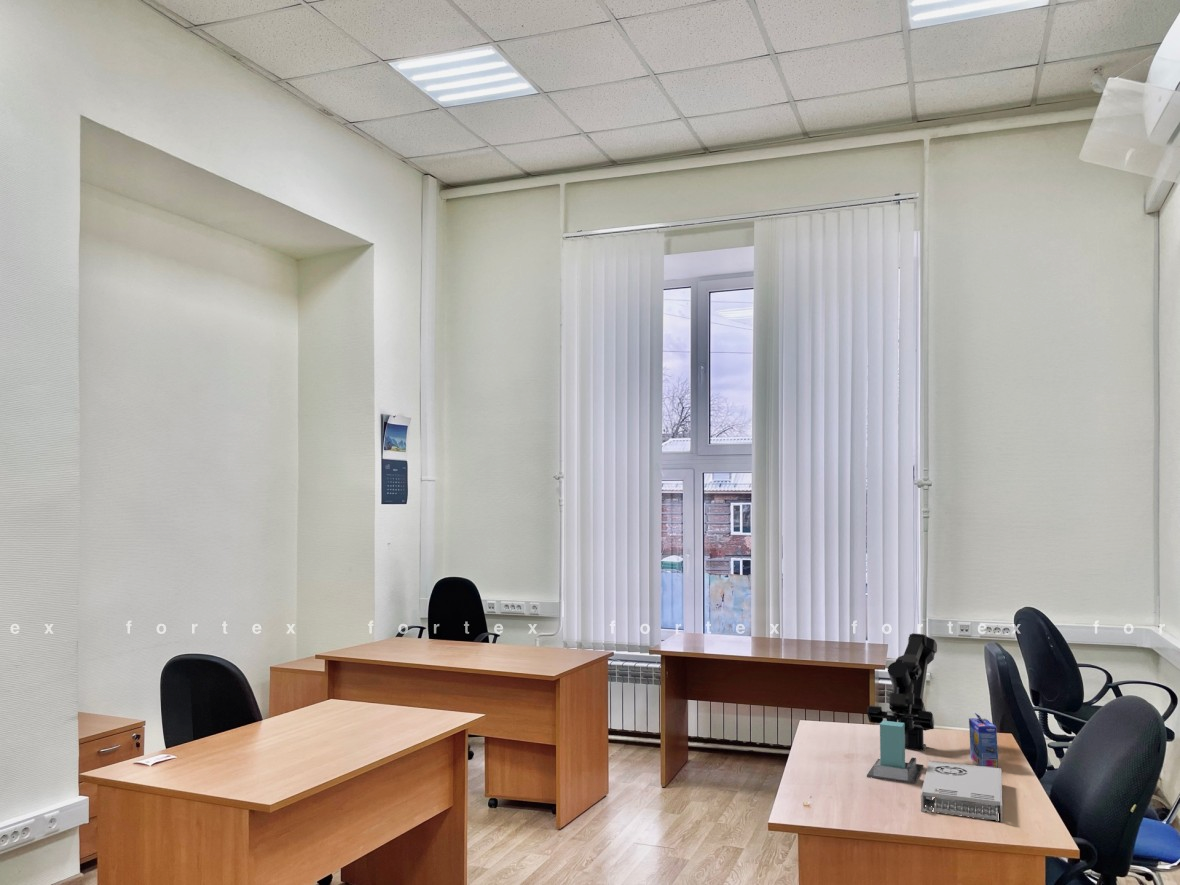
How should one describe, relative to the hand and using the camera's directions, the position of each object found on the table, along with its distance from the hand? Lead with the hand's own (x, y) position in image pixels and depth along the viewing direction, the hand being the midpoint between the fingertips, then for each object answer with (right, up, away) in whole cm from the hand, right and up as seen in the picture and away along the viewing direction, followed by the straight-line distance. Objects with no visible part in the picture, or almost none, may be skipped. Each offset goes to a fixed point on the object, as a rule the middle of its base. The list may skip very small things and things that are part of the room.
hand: (897, 742), depth 264 cm
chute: (-2, -7, -4) cm, 8 cm away
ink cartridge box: (+28, -8, +5) cm, 30 cm away
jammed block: (-4, -7, -8) cm, 11 cm away
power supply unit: (+9, -7, -26) cm, 28 cm away
